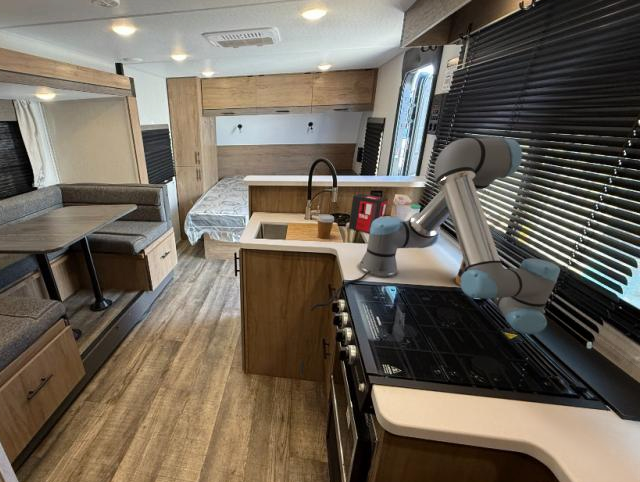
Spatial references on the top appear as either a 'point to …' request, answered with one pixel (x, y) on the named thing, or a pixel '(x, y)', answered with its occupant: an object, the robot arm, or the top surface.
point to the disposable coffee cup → (325, 225)
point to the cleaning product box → (366, 211)
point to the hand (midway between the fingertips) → (485, 267)
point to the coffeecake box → (401, 206)
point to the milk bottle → (412, 211)
